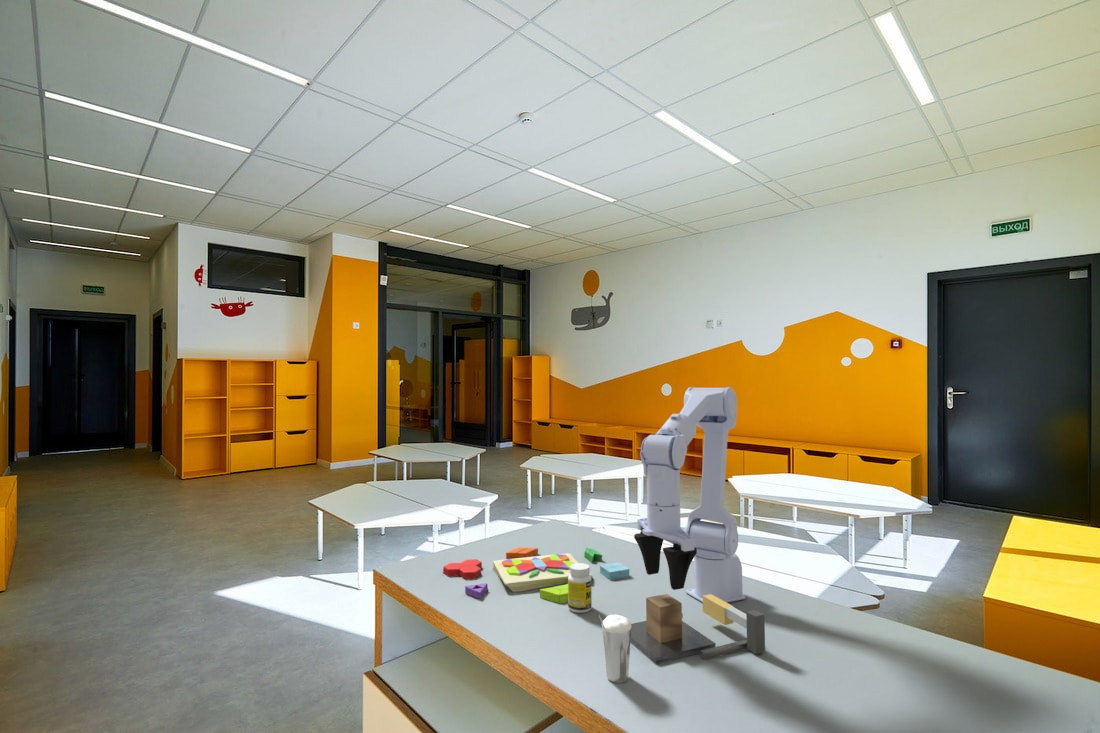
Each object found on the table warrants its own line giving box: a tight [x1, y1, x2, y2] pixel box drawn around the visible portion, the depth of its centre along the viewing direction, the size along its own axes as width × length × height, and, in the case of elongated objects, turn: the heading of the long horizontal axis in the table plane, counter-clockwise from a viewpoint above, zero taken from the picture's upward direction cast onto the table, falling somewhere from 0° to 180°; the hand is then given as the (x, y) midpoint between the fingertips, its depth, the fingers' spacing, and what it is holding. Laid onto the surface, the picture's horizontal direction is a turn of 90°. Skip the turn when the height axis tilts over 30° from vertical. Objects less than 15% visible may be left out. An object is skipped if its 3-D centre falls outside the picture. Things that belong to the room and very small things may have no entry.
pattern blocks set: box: [442, 546, 630, 604], centre depth 127 cm, size 38×34×3 cm
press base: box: [630, 620, 748, 665], centre depth 95 cm, size 20×14×1 cm
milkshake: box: [598, 614, 632, 684], centre depth 83 cm, size 4×5×10 cm
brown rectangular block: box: [645, 593, 684, 643], centre depth 95 cm, size 6×4×6 cm
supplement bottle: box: [567, 562, 593, 614], centre depth 108 cm, size 5×5×8 cm
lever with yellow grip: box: [702, 594, 766, 655], centre depth 95 cm, size 2×14×6 cm, turn 23°
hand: (664, 580), depth 95 cm, fingers open, 7 cm apart
